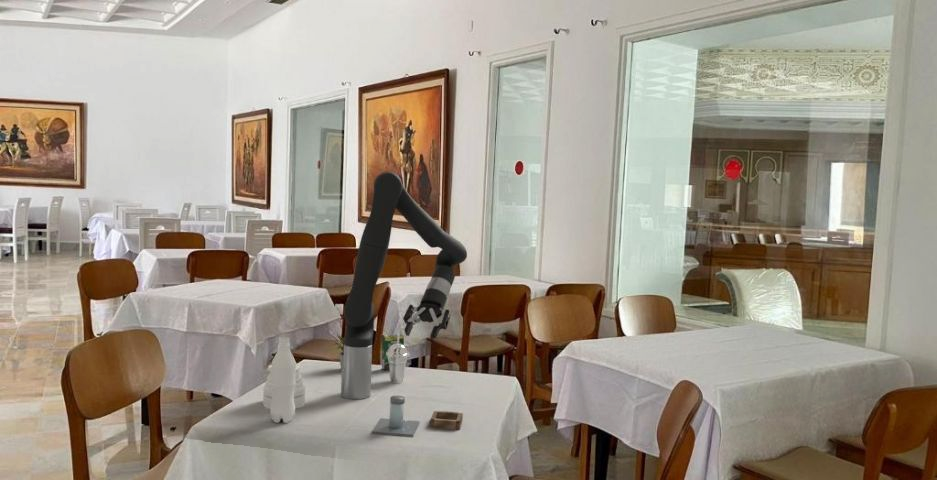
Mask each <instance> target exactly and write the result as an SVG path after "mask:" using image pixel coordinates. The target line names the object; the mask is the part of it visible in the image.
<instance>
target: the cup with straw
mask: <svg viewBox="0 0 937 480" xmlns="http://www.w3.org/2000/svg"><path fill="white" fill-rule="evenodd" d="M403 330H405V327H401V328H398V330H397V332H396V333H397V334H396V335H397V343H395V344H393V345H391V346H390V348H389V350H388V351H387V352H386V355H387V356H388V361H389V370H388V371H389V379H390V383H393V384H402V383H403V382H404V378H405V372H406V371H405V370H406V365H407V361H408V357H409V356H410V355H411V354H410V352H409V351H408V349H407V347H406V346H405V344H404V345H403V344H401V343H399V334H400V332H401V331H403Z"/></svg>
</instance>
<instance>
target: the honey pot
mask: <svg viewBox="0 0 937 480" xmlns="http://www.w3.org/2000/svg"><path fill="white" fill-rule="evenodd" d="M278 348H279V346H278V345H277V349H278ZM300 369H301V366H300V365H298V364H297V363H296V376H295V382H296V386H295V390H294V404H295V410H296V409H298V408H301V407H303V406H304V405H305V404H306V402H305V401H306V393H305V392H306V387H305V386H306V385H305V384H304V380H303V376H302V375H301V372H300ZM267 370H268V372H269V374H268V376H266V377H267V378H266V381H265V385H264V386H263V397H262V399H263V400H262V401H263V402H262V405H263V407H265V408H267V409H269V410H270V407H271V403H272V389H271V373H272V367H271V364H270V365H269V366H268V367H267Z"/></svg>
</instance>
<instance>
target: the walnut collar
mask: <svg viewBox="0 0 937 480" xmlns="http://www.w3.org/2000/svg"><path fill="white" fill-rule="evenodd" d="M463 416H464V415H463V412H458V411H447V410H437V411H436V410H434V411H433V413H432V414H431V417H430V423H429V424H430V425H429V427H430V428H434V429H439V430H440V429H441V430H442V429H444V430H454V431H455V430H461V427H462V424H463Z"/></svg>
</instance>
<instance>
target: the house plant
mask: <svg viewBox="0 0 937 480" xmlns="http://www.w3.org/2000/svg"><path fill="white" fill-rule="evenodd" d="M330 330H331V331H332V329H330ZM333 331H334V333H336V334H333V333H332V335H333V336H334V335H335V337H336V338H338V339H339V340H340V341H333V342H334V344H332V345H331V346H338V347H337V348H336V350H339V349H340V351H339V353H338V355H339V364H340V371H342V368H343V365H344V338H343V337H342V336H341V334H340V333H339V332H338V331H337V330H334V329H333ZM345 332H346V330H345V331H344V333H345Z"/></svg>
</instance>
